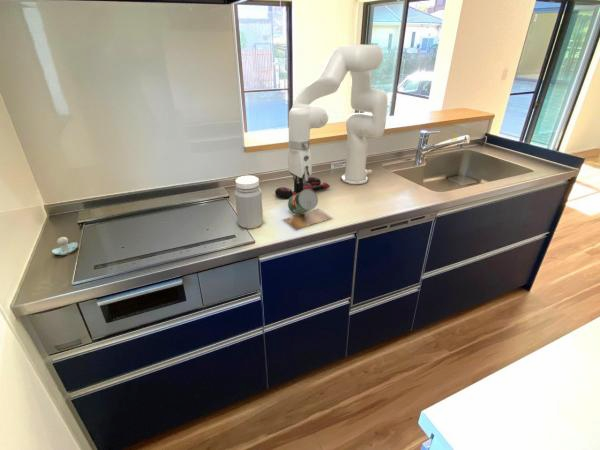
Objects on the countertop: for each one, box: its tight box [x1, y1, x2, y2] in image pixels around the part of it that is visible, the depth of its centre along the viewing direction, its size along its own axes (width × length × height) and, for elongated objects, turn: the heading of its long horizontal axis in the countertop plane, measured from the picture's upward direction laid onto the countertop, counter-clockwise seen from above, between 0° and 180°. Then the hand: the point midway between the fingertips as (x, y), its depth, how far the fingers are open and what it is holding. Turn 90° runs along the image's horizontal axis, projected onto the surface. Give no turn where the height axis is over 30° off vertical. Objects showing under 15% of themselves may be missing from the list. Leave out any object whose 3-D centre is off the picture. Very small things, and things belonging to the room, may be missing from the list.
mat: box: [283, 208, 332, 231], centre depth 134 cm, size 16×9×1 cm, turn 123°
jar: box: [234, 174, 264, 230], centre depth 127 cm, size 10×10×18 cm
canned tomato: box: [287, 189, 319, 216], centre depth 133 cm, size 8×8×11 cm
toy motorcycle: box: [274, 176, 330, 199], centre depth 154 cm, size 25×5×16 cm
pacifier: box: [51, 236, 79, 256], centre depth 113 cm, size 7×6×6 cm
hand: (298, 191), depth 132 cm, fingers closed
